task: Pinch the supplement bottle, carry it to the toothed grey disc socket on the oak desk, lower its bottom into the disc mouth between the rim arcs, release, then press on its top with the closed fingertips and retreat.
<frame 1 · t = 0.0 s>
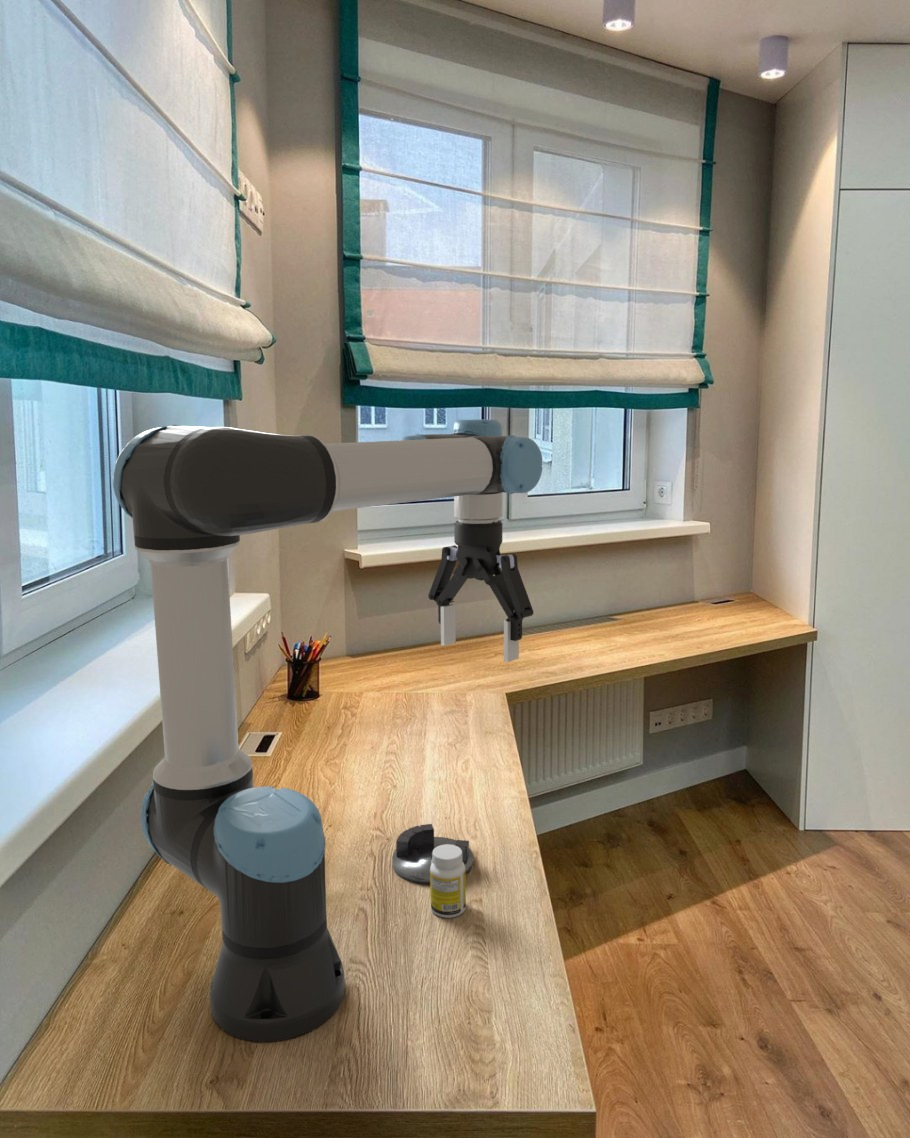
hand: (478, 651, 139), 28 cm above the table, fingers open, 13 cm apart
toothed grey disc: (432, 862, 129), on the table
supplement bottle: (448, 910, 117), on the table
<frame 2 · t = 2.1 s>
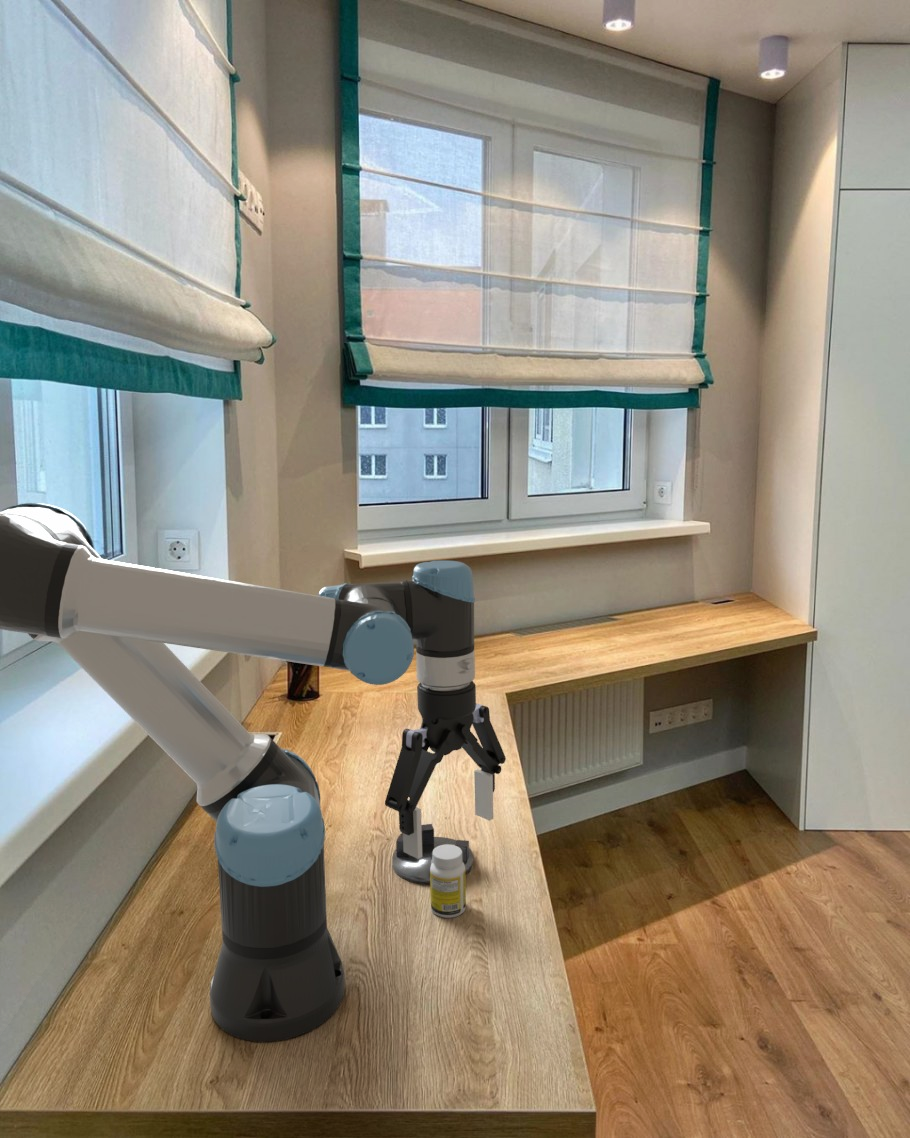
hand: (450, 835, 115), 11 cm above the table, fingers open, 13 cm apart
nothing on the table moved.
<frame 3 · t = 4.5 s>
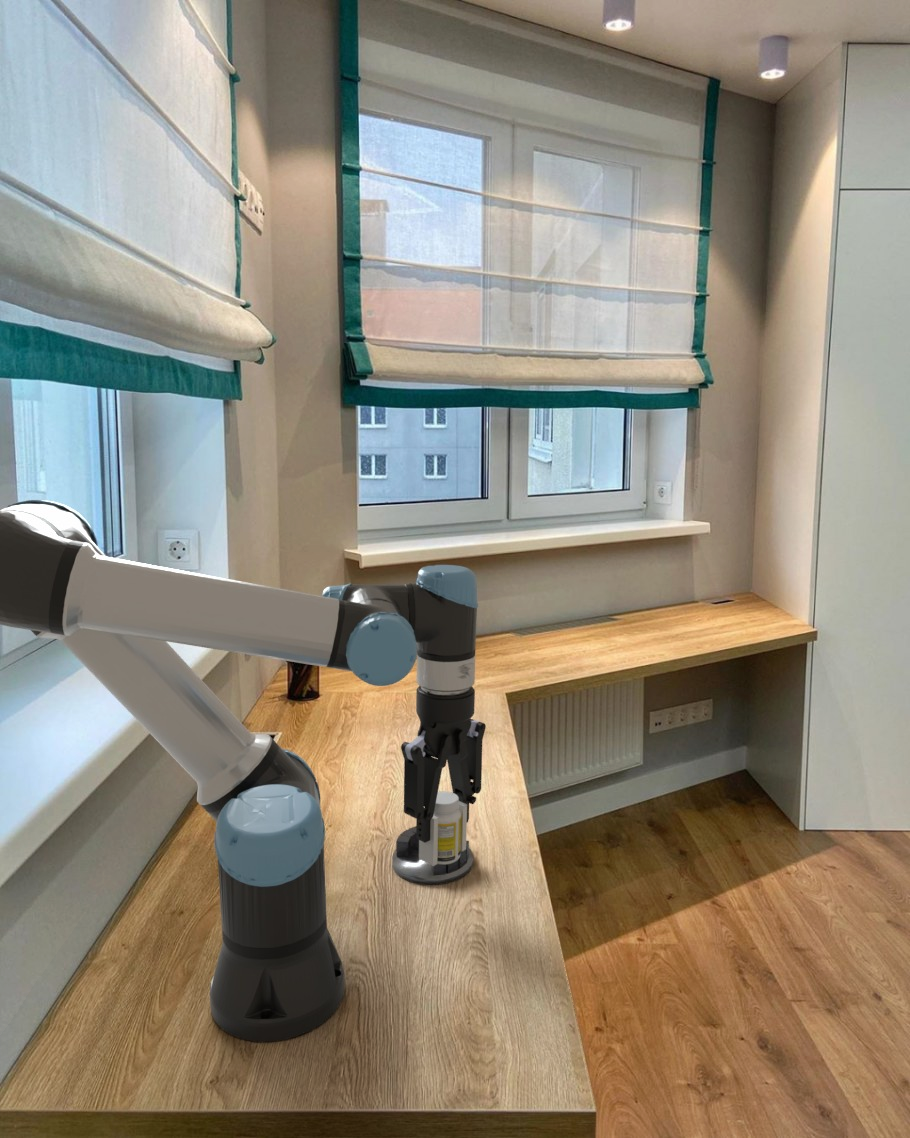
hand: (442, 853, 115), 8 cm above the table, fingers closed on supplement bottle, 5 cm apart
supplement bottle: (442, 857, 115), point 8 cm above the table, touching gripper
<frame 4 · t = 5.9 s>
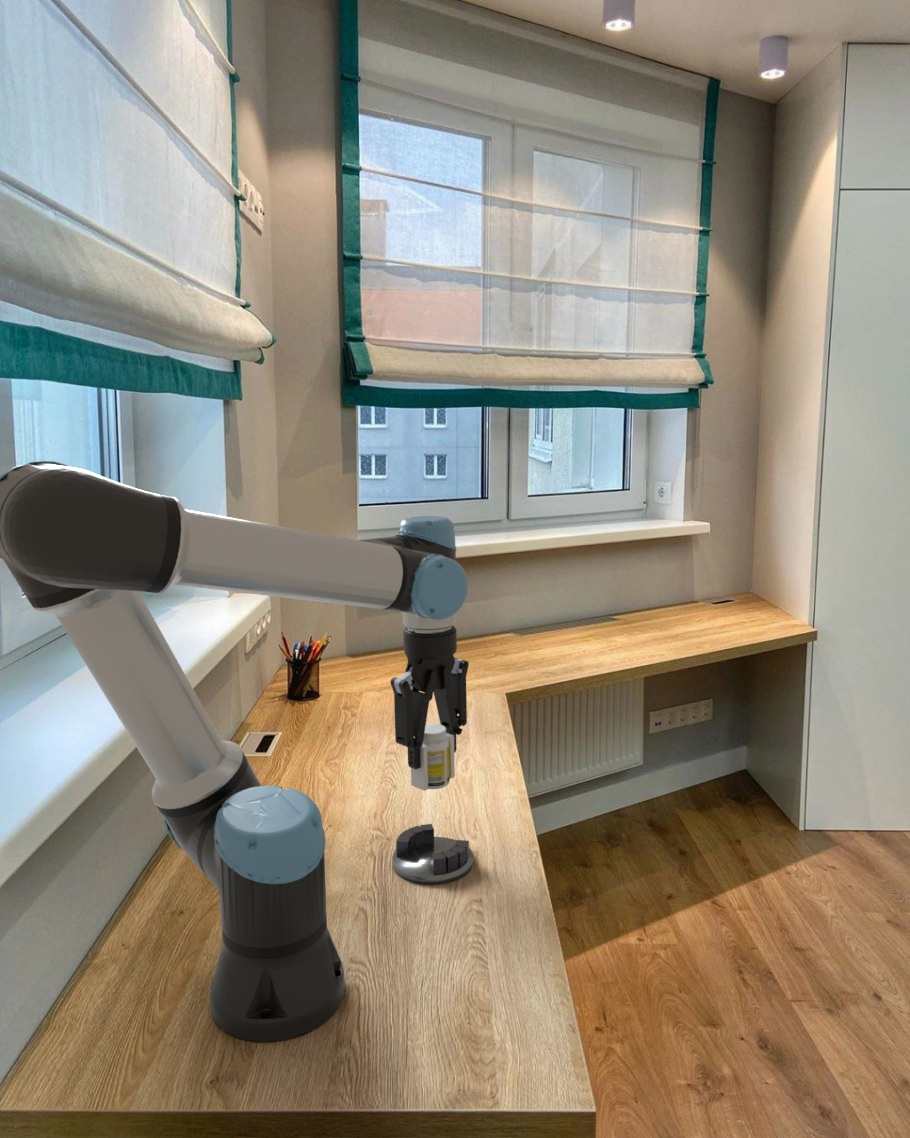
hand: (433, 780, 126), 13 cm above the table, fingers closed on supplement bottle, 5 cm apart
supplement bottle: (433, 784, 127), point 12 cm above the table, touching gripper
when the fingers open (1 cm above the table, at t = 7.6 s): supplement bottle stays where it is, resting on toothed grey disc.
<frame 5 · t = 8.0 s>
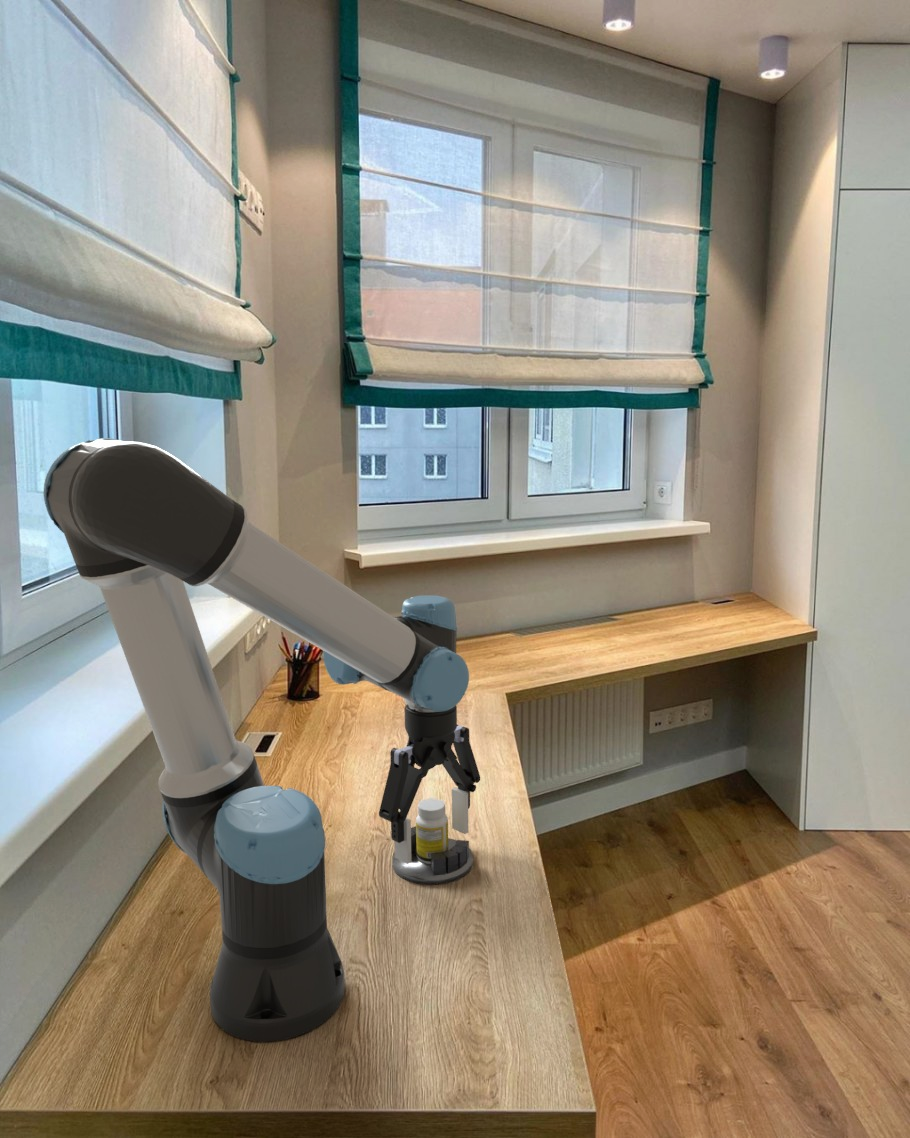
hand: (432, 844, 128), 3 cm above the table, fingers open, 11 cm apart
supplement bottle: (432, 858, 129), point 1 cm above the table, touching toothed grey disc
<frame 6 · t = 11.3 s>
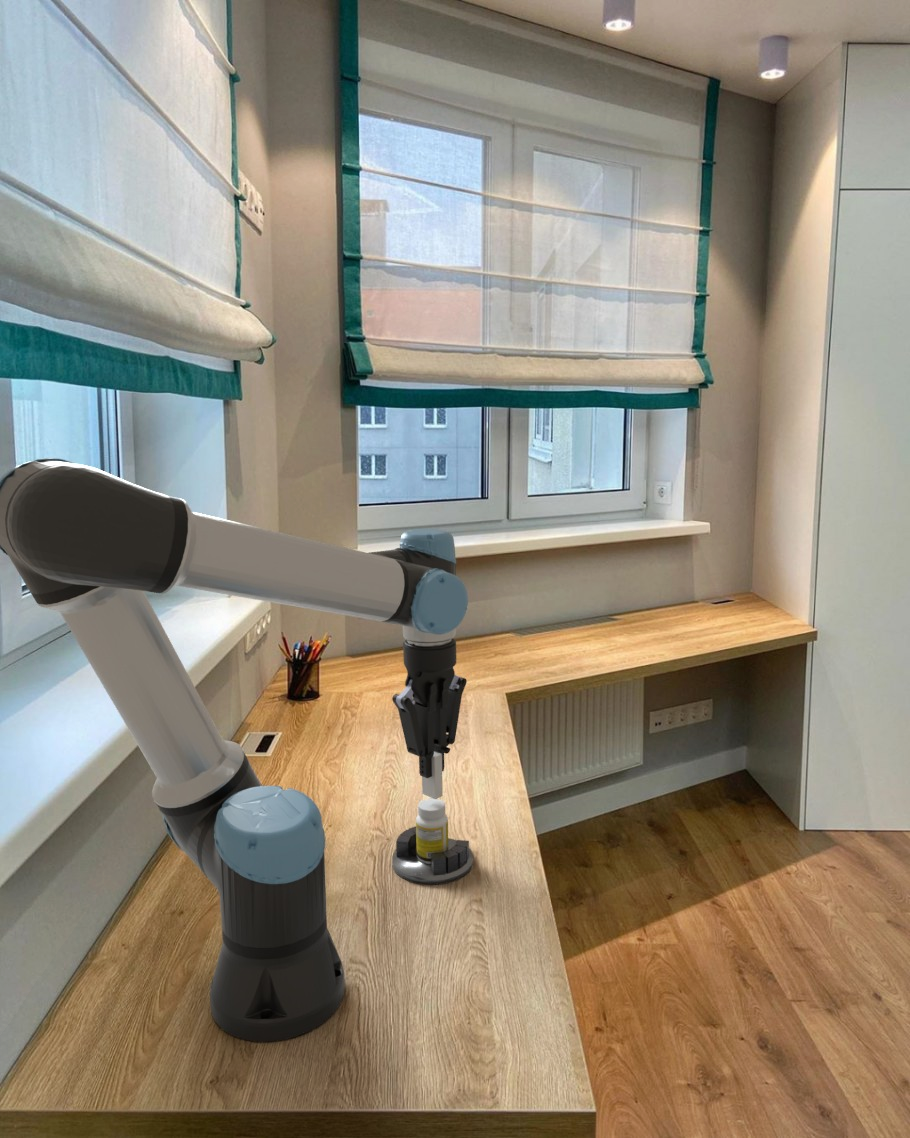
hand: (432, 794, 127), 11 cm above the table, fingers closed
nothing on the table moved.
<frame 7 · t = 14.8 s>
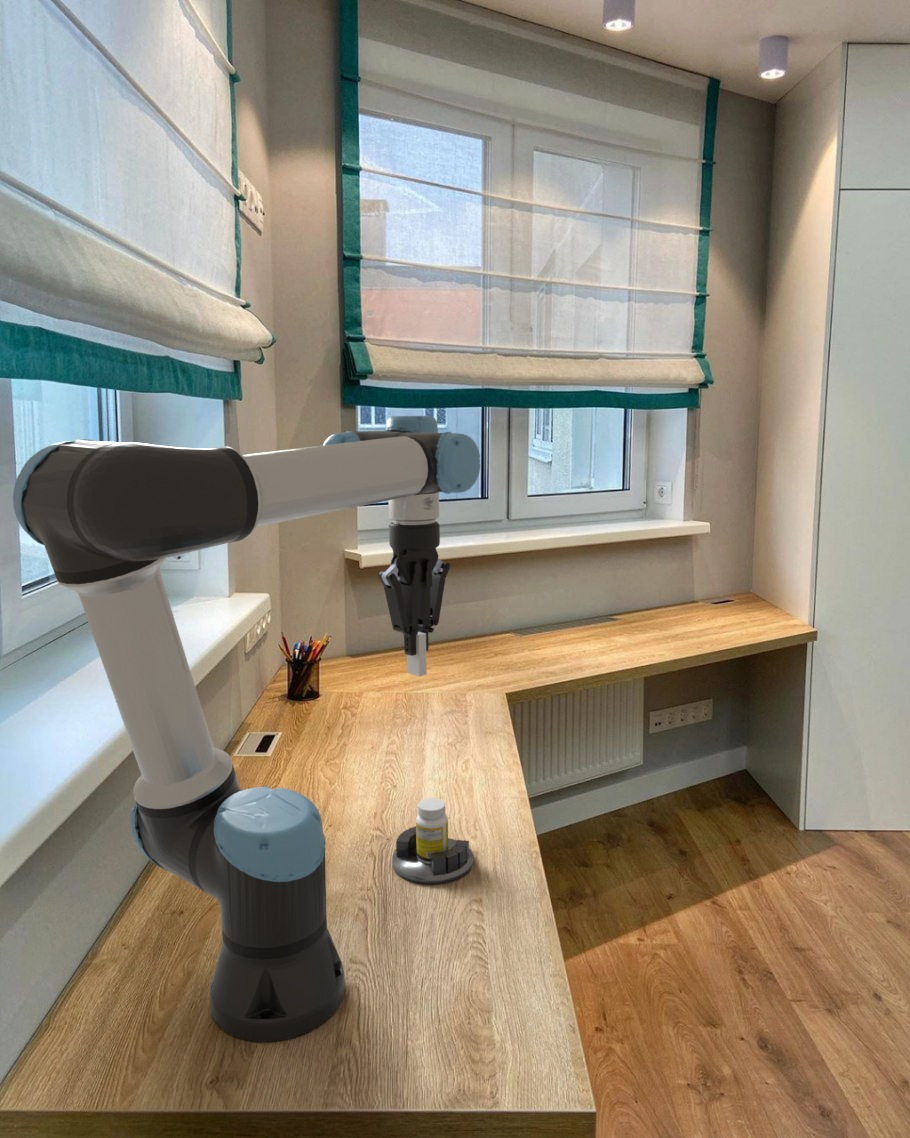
hand: (416, 673, 133), 26 cm above the table, fingers closed
nothing on the table moved.
at the end: supplement bottle 0.1 cm off-centre on the toothed grey disc, point 0.8 cm above the toothed grey disc's base; supplement bottle tilted 0°; the gripper is holding nothing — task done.
